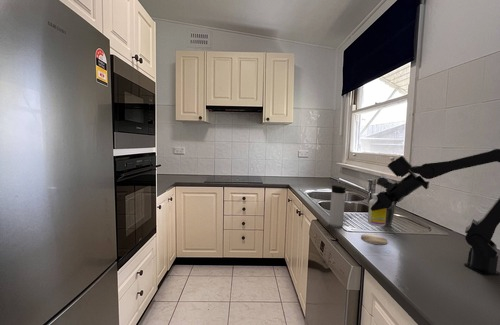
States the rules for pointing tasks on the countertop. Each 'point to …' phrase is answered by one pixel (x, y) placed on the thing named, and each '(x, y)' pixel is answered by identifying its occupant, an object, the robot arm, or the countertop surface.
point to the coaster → (374, 239)
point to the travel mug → (337, 206)
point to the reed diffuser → (389, 215)
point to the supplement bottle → (376, 213)
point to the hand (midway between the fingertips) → (374, 208)
